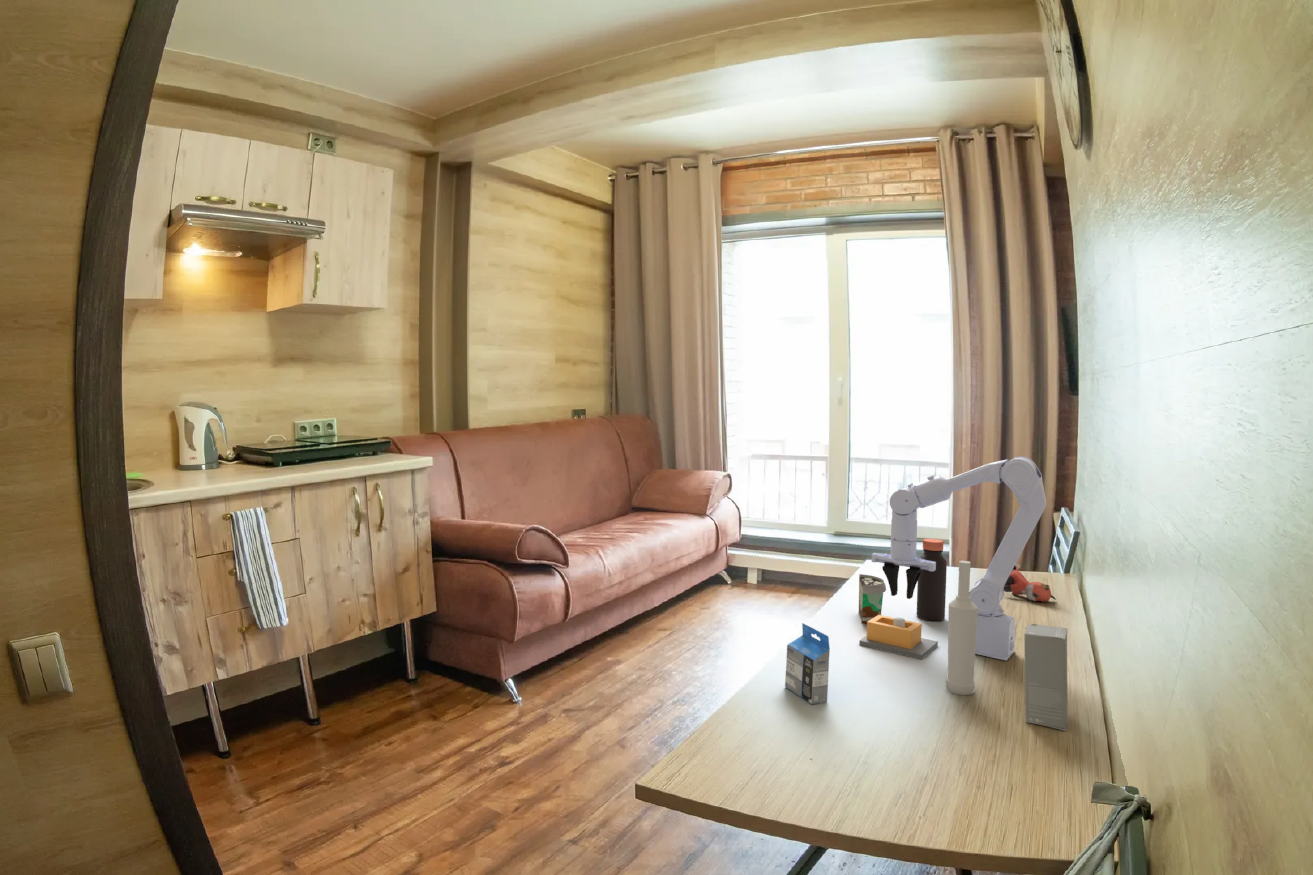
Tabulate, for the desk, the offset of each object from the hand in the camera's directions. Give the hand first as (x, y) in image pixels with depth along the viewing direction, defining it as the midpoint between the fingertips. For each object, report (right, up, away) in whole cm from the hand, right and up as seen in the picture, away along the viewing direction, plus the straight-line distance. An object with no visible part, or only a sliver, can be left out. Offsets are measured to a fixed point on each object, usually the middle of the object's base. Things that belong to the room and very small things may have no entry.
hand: (901, 596), depth 167 cm
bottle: (+1, -11, -31) cm, 33 cm away
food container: (-3, -9, +13) cm, 16 cm away
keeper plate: (-3, -10, -6) cm, 12 cm away
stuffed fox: (+48, -8, +34) cm, 59 cm away
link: (-4, -9, -6) cm, 11 cm away
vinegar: (+13, -9, +15) cm, 21 cm away
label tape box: (-30, -11, -33) cm, 46 cm away
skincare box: (+11, -12, -42) cm, 45 cm away
